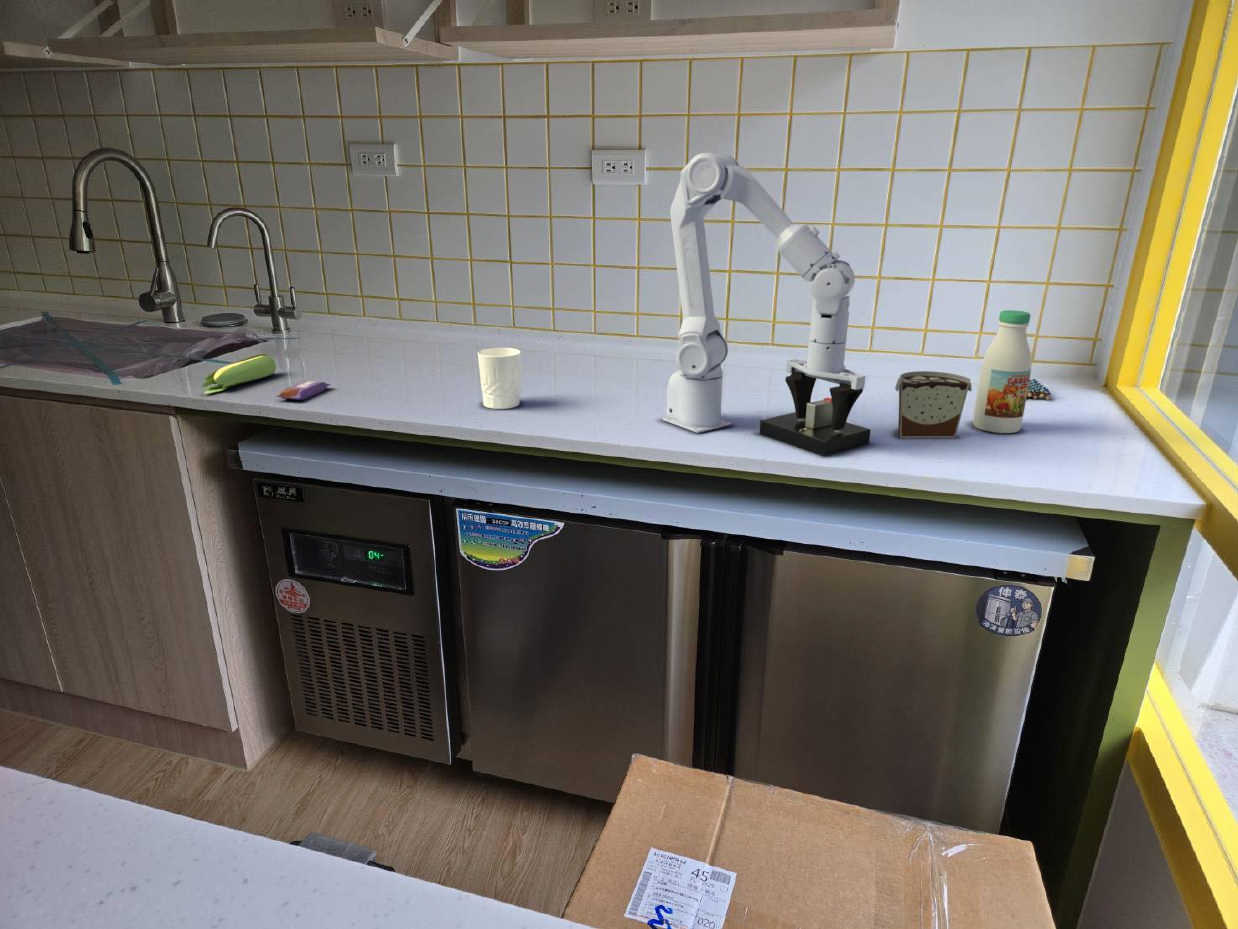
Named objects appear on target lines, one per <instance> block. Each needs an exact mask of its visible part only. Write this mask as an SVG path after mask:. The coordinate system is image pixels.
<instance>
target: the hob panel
mask: <svg viewBox="0 0 1238 929" xmlns="http://www.w3.org/2000/svg"><path fill="white" fill-rule="evenodd" d="M805 421H806V418H802V419H797V417H796V411H794V412H789V413H785V414H781V415H777V416H772V417H768V418H763V419H760V421H759V435H761V436H763V437H766V438H770V439H773V440H775V441H778V442H780V443H783V444H786V445H790V446H793V447H795V448H798V449H801V450H804V451H806V452H810V453H813V454H816V455H819V456H822V457H827V456H830V455H834V454H838V453H842V452H846V451H849V450H853V449H855V448H859V447H860V448H861V447H863V446H866V445H869V444H870V440H871V432H872V431H871V430H872V429H871V428H867V427H865V426H862V425H857V424H855V423H851V422H847V421H846V423H845V426H844V429H840V430H836V431H835V430H832V425H829V426H825V427H821V428H817V429H810V428H807V427H805Z"/></svg>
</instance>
